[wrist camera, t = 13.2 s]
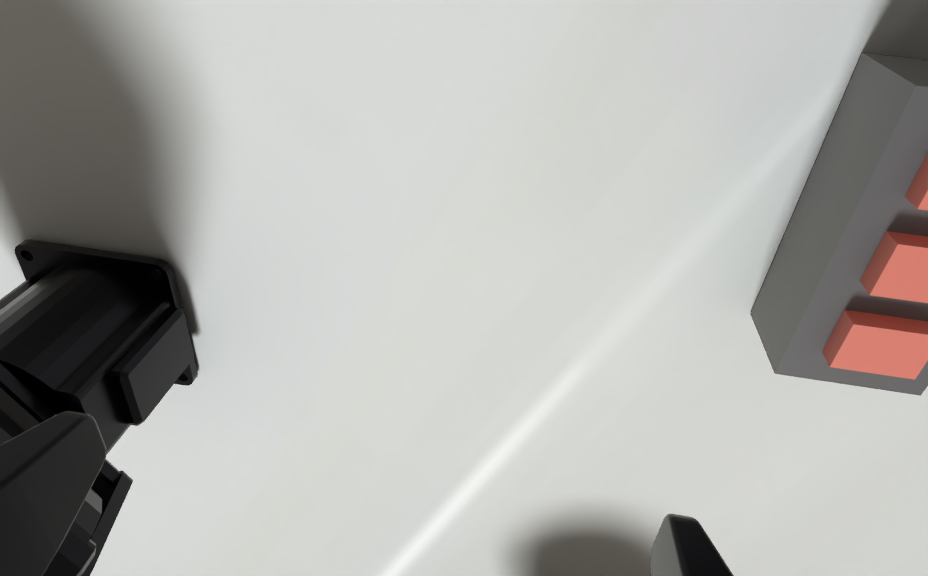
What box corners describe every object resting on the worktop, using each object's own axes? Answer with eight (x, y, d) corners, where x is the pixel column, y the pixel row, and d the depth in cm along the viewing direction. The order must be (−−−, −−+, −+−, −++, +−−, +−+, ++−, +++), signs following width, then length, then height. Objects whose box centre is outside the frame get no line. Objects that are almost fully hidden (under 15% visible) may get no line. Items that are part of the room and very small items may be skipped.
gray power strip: (878, 331, 21) (931, 411, 18) (750, 313, 22) (781, 389, 19) (1031, 71, 16) (1144, 118, 13) (862, 53, 17) (930, 94, 14)
